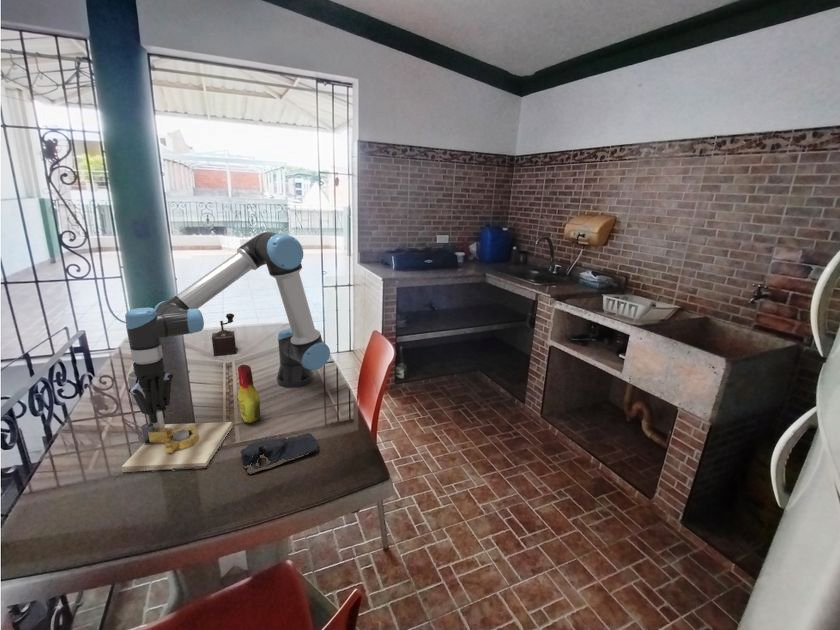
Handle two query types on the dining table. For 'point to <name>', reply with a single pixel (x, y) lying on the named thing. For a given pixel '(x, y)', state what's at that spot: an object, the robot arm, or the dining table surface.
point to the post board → (195, 455)
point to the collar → (168, 437)
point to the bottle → (248, 395)
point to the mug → (132, 383)
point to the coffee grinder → (224, 340)
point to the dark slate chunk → (279, 449)
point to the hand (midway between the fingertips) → (159, 429)
